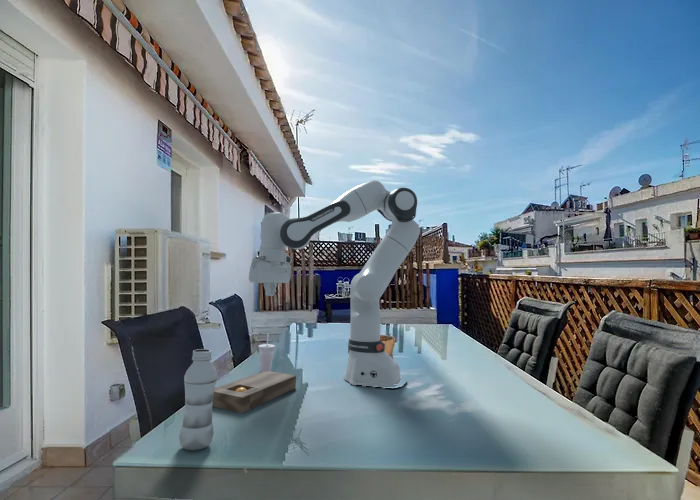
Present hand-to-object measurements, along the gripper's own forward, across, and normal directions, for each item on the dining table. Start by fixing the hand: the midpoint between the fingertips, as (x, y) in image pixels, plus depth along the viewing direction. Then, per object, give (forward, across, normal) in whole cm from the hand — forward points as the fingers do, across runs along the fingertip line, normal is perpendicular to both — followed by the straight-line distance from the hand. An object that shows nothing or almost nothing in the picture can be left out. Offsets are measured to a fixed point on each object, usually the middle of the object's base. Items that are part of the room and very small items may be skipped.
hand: (269, 295), depth 134 cm
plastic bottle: (+29, -50, -20) cm, 61 cm away
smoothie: (+29, +8, +6) cm, 31 cm away
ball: (+27, -23, -9) cm, 37 cm away
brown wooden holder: (+29, -17, -9) cm, 35 cm away
